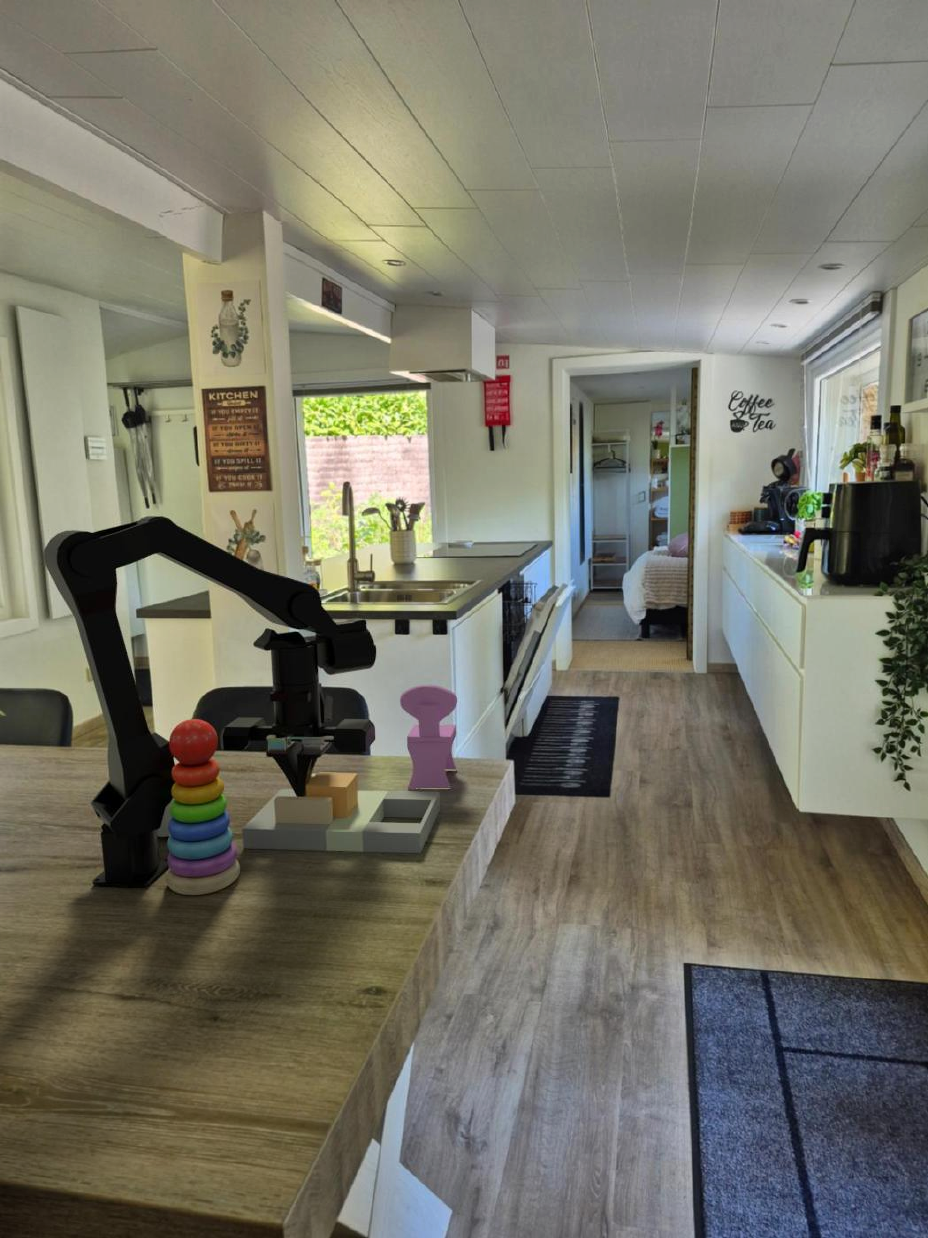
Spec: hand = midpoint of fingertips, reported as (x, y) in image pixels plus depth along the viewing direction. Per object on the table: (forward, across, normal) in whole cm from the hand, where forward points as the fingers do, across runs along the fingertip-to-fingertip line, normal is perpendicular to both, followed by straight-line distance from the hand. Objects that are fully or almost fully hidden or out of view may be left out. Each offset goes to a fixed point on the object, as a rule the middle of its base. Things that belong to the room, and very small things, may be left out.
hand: (302, 799), depth 111 cm
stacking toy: (+4, +6, +16) cm, 18 cm away
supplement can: (0, +22, -9) cm, 23 cm away
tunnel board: (+4, -6, 0) cm, 7 cm away
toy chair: (+4, -14, -19) cm, 24 cm away
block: (+1, -4, 0) cm, 4 cm away
